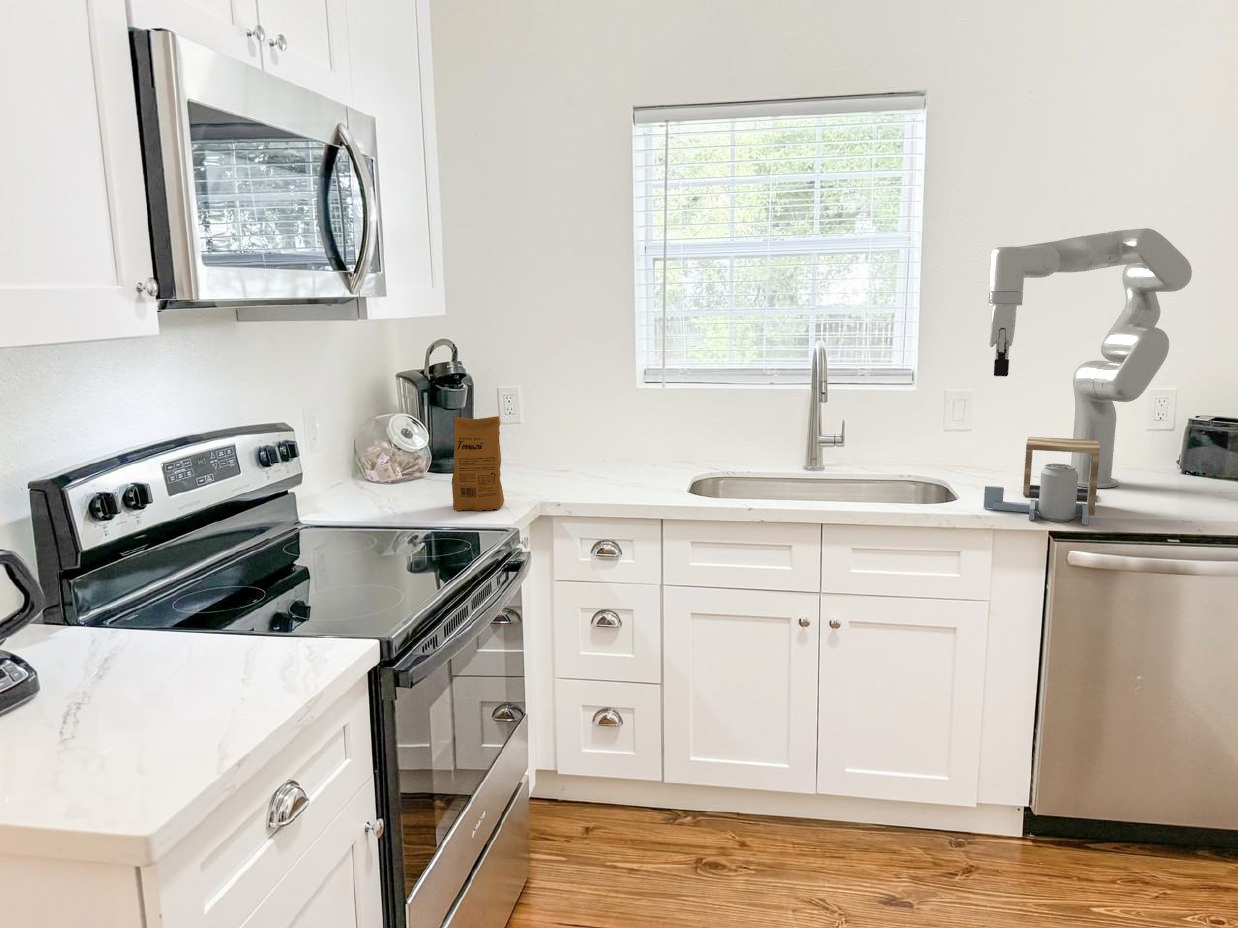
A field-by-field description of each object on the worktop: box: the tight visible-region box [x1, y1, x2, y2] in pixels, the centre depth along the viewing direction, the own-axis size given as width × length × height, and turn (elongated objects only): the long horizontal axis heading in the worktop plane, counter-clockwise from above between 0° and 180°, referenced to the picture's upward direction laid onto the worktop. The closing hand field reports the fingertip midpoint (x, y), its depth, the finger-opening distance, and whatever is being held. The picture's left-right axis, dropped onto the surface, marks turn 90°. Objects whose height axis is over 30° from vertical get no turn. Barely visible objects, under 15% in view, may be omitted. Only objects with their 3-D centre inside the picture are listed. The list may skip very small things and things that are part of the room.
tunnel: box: [1022, 436, 1100, 516], centre depth 216 cm, size 12×15×15 cm
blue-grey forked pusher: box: [983, 485, 1089, 526], centre depth 208 cm, size 10×21×5 cm, turn 65°
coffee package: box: [451, 415, 505, 512], centre depth 223 cm, size 10×12×22 cm
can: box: [1037, 463, 1079, 523], centre depth 205 cm, size 8×8×12 cm
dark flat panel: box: [1023, 484, 1088, 502], centre depth 229 cm, size 8×15×1 cm, turn 65°
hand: (1000, 375), depth 228 cm, fingers closed
